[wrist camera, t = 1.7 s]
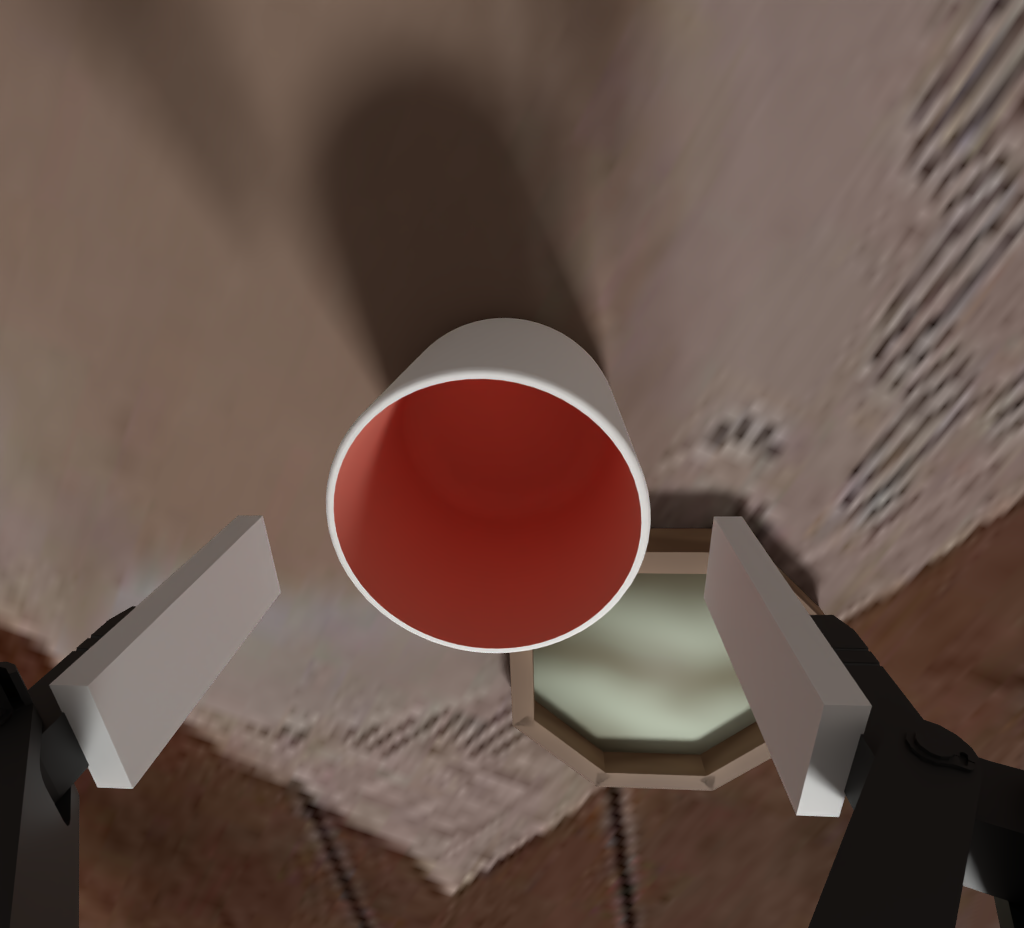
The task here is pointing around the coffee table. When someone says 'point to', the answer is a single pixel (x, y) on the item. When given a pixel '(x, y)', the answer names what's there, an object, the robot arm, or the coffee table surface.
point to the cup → (491, 492)
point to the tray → (645, 683)
